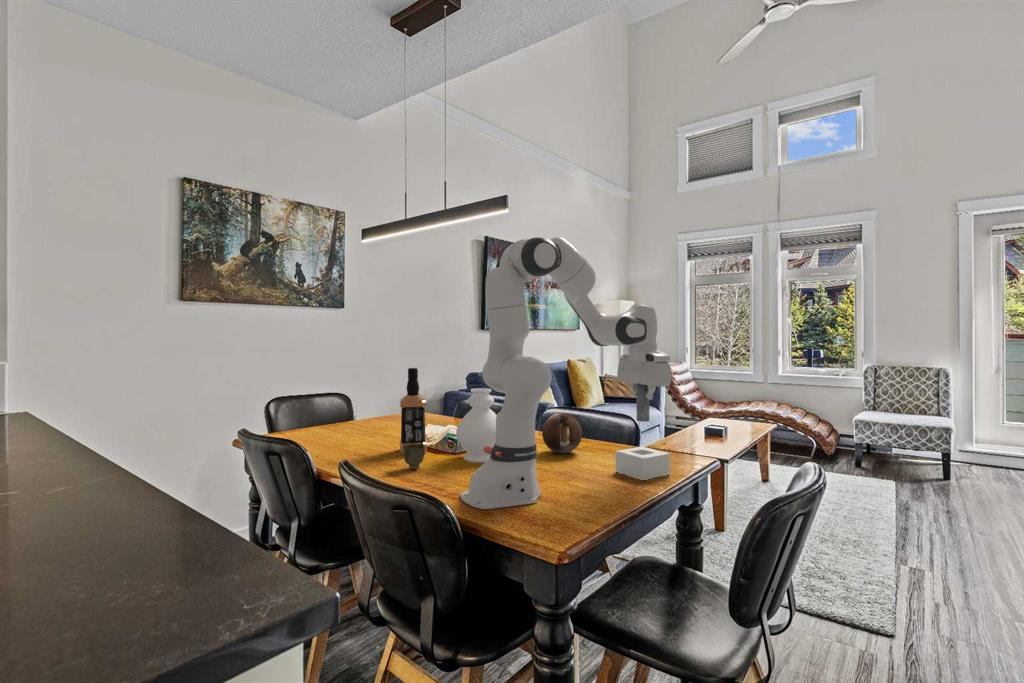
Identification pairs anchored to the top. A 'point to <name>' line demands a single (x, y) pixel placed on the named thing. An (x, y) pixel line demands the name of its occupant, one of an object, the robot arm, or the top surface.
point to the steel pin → (642, 403)
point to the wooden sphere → (562, 433)
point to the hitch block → (642, 463)
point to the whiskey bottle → (412, 413)
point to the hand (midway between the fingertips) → (642, 398)
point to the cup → (413, 455)
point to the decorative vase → (478, 426)
